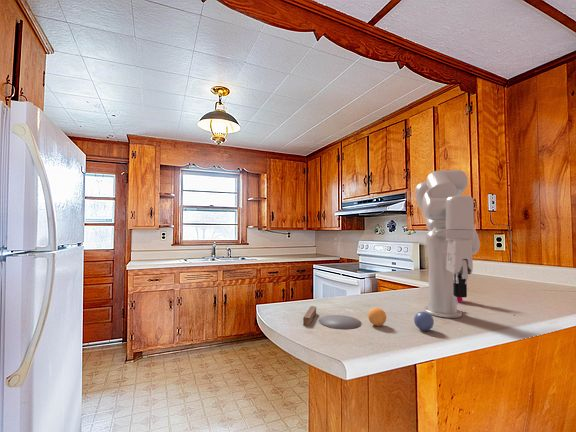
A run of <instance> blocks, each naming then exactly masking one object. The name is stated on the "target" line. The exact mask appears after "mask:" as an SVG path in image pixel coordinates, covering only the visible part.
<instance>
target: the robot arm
mask: <svg viewBox="0 0 576 432" xmlns="http://www.w3.org/2000/svg"><path fill="white" fill-rule="evenodd" d="M468 182H469V180H468V176H467V174H466V172H464V171H463V170H461V169H443V170H435V171H432V172H431V173H429V174H428V176H427V177H426V181H423V182H420V183H418V184H417V185H416V187H415V190H414V196H415V201H416V203H417V206H418V208H419V209H420V211H421V213H422V214H423V217H424V221H425V225H426V228H427V231H428V232H427V234H426V237H425V242H426V249H427V257H428V260H427V261H428V305H426V306H424V308H423V312H427V313H429V314H430V315H431V316H435V317H439V318H447V319H448V318H449V319H451V318H452V319H457V318H462V316H463V312H462V311H461V310H459V309H458V305H459V302H458V301H457V297H462V298H468V289H467V287H468V279H469V275H471V274H472V273H473V270H474V269H473V266H474V264H473V261H474V259H473V255H476V254H477V253H479V251H480V248H481V241H480V237H479V234H478V232H477V230H476V228H475V217H474V216H475V213H474V212H475V210H474V207H475V206H474V198H473V197H472V196H471V195H462V194H463V193H464V192H465V191H466V188H467V187H468Z"/></svg>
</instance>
